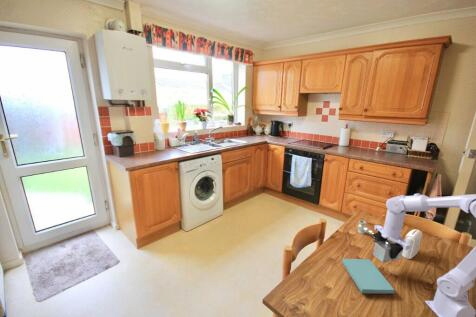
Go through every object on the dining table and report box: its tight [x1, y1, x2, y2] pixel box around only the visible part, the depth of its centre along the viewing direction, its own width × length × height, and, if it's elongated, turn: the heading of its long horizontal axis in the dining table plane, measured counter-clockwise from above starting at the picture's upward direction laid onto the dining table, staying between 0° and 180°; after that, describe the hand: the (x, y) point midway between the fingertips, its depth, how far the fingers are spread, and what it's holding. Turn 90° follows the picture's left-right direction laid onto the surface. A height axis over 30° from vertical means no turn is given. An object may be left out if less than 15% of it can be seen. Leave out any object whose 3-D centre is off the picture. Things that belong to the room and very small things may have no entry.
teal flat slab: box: [341, 258, 395, 295], centre depth 88 cm, size 16×12×3 cm
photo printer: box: [401, 229, 423, 260], centre depth 103 cm, size 10×4×12 cm, turn 123°
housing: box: [372, 239, 403, 263], centre depth 91 cm, size 5×9×7 cm, turn 103°
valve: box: [356, 219, 378, 243], centre depth 117 cm, size 7×7×12 cm
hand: (387, 253), depth 91 cm, fingers closed on housing, 5 cm apart
